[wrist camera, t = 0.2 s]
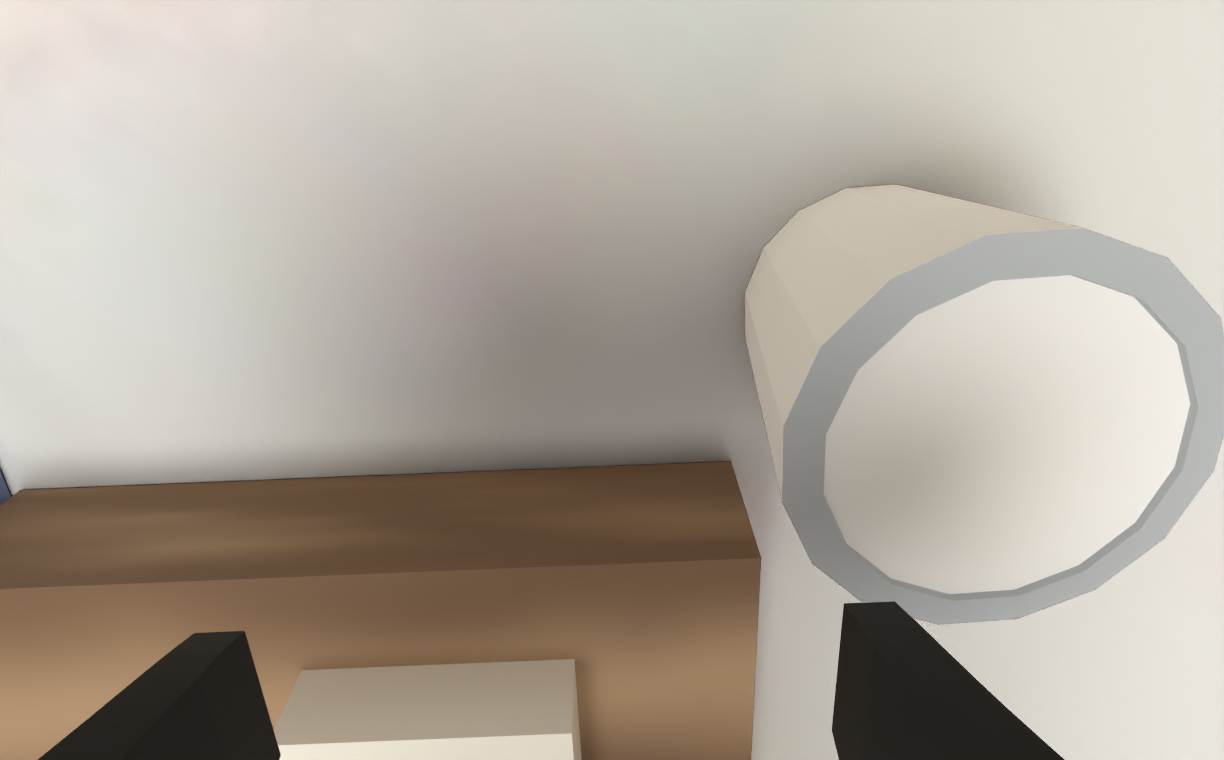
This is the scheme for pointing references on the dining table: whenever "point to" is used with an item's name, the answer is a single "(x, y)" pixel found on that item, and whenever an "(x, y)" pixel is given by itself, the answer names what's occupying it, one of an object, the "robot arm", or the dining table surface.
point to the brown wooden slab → (397, 591)
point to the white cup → (978, 399)
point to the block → (434, 713)
